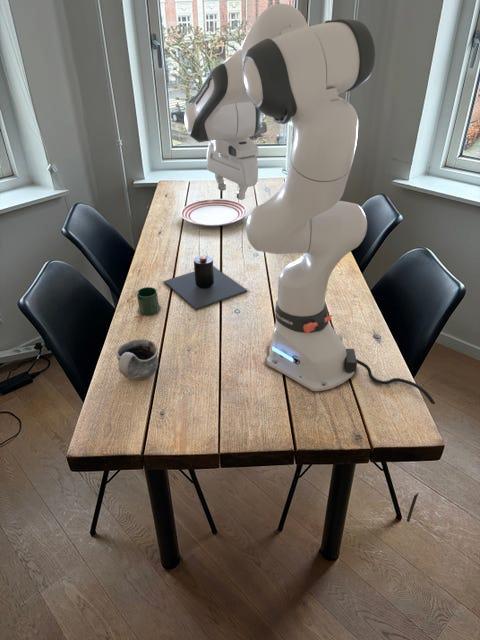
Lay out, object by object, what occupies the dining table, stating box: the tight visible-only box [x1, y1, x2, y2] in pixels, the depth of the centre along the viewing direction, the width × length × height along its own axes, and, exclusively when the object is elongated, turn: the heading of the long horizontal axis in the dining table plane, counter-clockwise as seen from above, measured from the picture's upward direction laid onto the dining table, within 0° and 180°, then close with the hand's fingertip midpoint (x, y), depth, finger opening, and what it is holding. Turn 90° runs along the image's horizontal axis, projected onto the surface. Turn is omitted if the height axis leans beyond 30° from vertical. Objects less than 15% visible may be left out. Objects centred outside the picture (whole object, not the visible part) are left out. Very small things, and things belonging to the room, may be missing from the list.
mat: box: [163, 266, 248, 311], centre depth 148 cm, size 20×18×1 cm
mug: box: [115, 338, 159, 381], centre depth 109 cm, size 10×12×10 cm
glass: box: [136, 286, 160, 316], centre depth 135 cm, size 6×6×6 cm
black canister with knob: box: [193, 255, 214, 289], centre depth 145 cm, size 6×6×10 cm
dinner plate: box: [180, 198, 248, 227], centre depth 195 cm, size 27×27×3 cm
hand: (231, 194), depth 133 cm, fingers open, 8 cm apart
